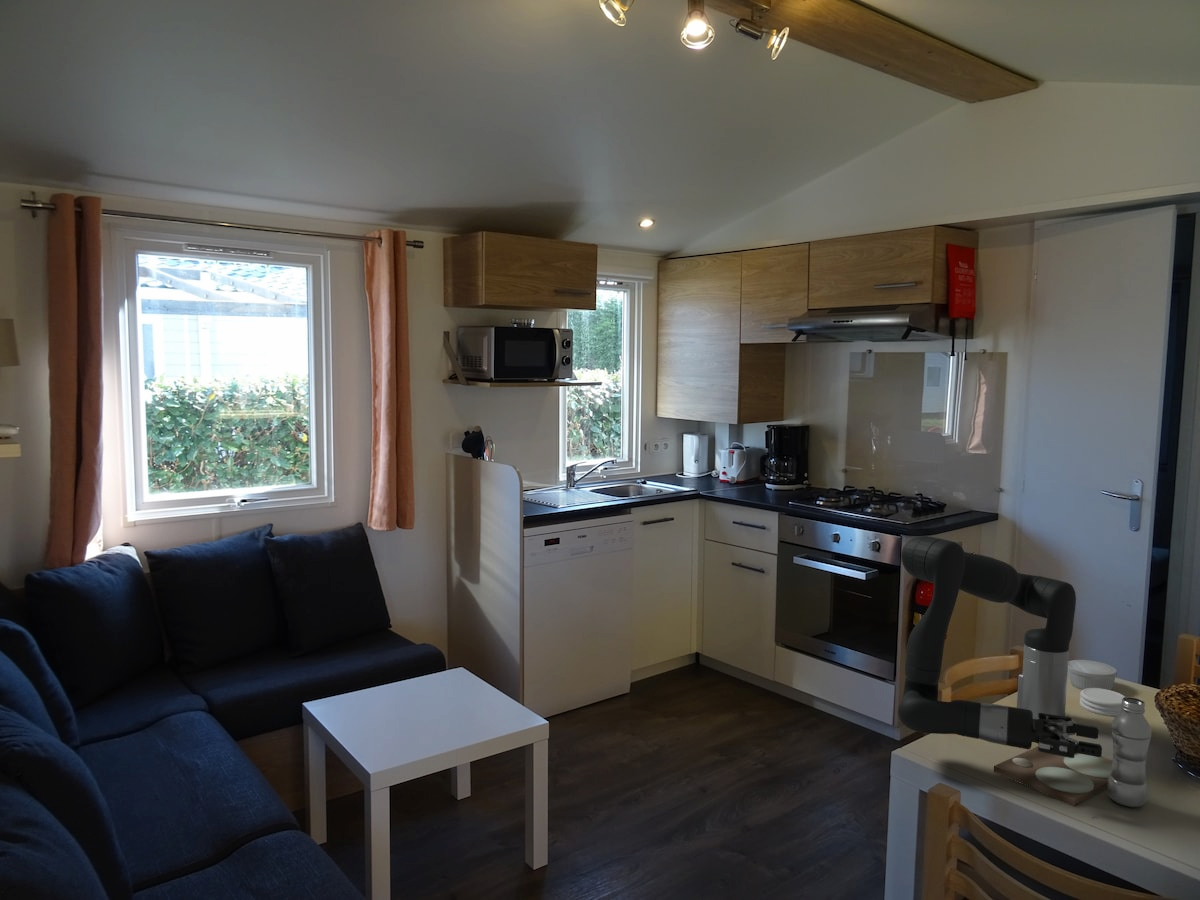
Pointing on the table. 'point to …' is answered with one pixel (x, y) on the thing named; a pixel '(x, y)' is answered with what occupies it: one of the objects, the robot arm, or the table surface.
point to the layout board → (1059, 774)
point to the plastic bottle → (1129, 754)
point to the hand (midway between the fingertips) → (1099, 742)
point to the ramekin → (1091, 674)
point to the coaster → (1101, 701)
